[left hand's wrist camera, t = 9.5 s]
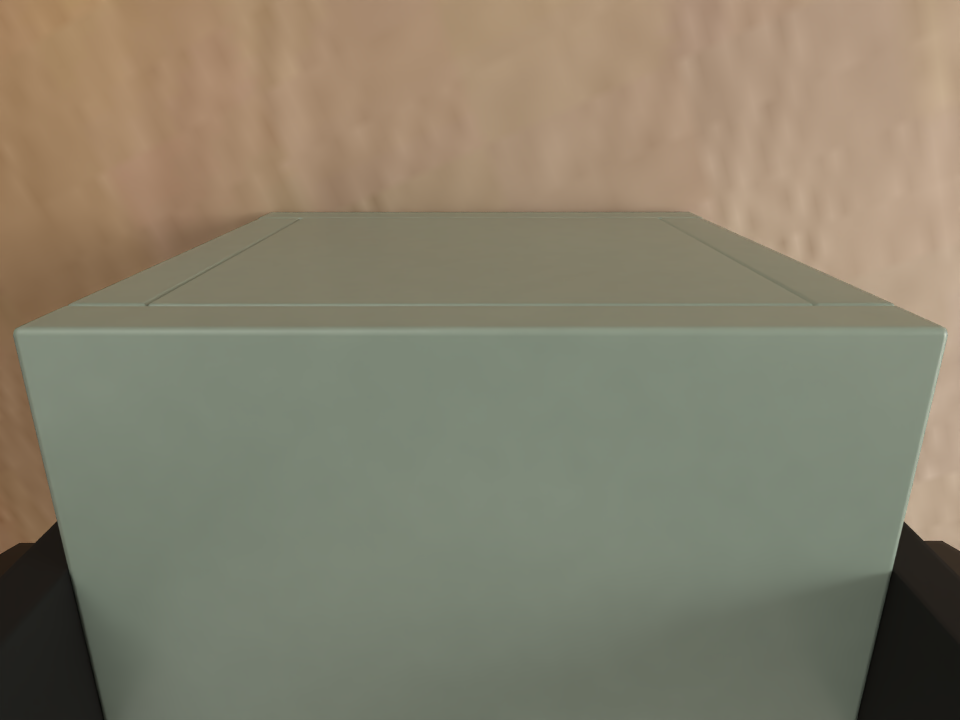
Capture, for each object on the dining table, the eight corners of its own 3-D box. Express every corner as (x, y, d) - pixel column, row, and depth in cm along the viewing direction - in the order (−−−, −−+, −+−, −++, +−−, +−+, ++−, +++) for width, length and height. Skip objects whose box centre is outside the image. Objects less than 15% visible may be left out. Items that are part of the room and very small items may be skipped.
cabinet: (630, 814, 24) (728, 1270, 14) (331, 814, 24) (232, 1270, 14) (690, 211, 17) (953, 328, 8) (270, 211, 17) (6, 328, 8)
